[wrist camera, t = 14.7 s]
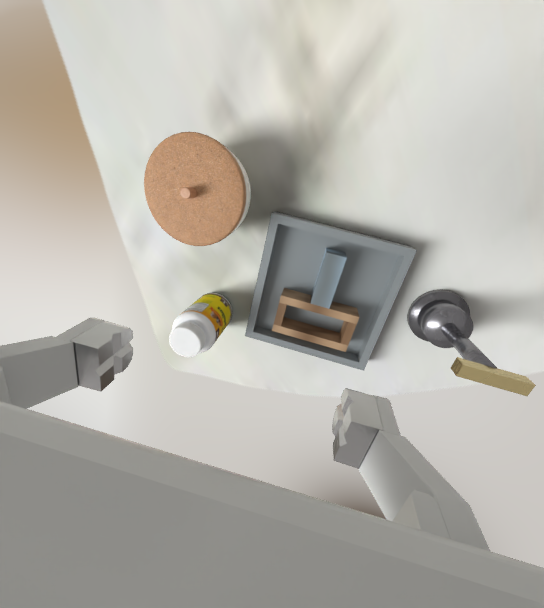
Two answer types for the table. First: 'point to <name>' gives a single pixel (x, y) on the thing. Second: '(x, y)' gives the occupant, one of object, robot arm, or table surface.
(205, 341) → the supplement bottle
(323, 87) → the table surface
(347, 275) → the tray
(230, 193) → the lidded jar
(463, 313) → the plunger
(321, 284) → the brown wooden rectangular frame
